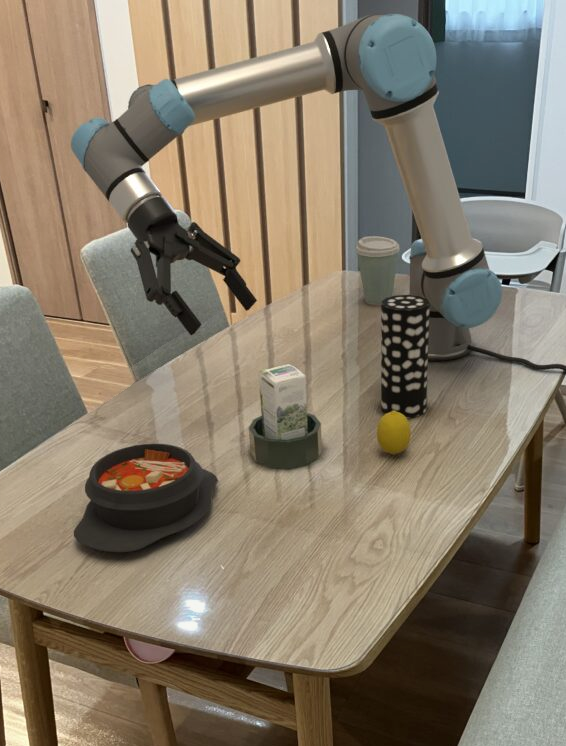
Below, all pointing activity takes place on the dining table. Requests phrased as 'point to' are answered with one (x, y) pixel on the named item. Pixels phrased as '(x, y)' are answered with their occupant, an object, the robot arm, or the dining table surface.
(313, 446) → the crock
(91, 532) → the casserole
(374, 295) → the disposable coffee cup
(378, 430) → the lemon
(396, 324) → the white-spotted black cylinder
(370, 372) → the dining table surface
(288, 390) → the syrup box
